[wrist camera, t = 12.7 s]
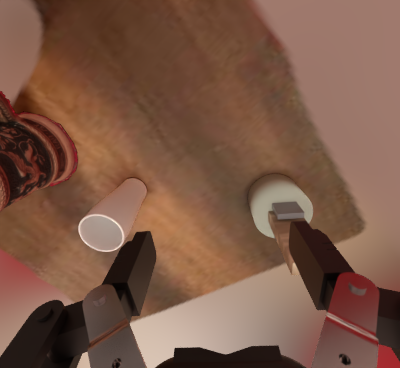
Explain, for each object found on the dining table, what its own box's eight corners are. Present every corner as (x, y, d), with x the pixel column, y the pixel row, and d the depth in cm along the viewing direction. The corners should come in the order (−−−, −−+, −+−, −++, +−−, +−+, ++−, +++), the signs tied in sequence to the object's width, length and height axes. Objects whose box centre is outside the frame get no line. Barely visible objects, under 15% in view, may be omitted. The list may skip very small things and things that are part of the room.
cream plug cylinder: (247, 175, 42) (258, 201, 32) (299, 171, 41) (327, 197, 31) (247, 218, 46) (257, 253, 36) (295, 215, 45) (318, 250, 35)
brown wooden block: (268, 211, 37) (292, 263, 26) (298, 209, 36) (335, 261, 26) (268, 220, 38) (291, 275, 27) (297, 219, 37) (333, 273, 26)
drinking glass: (130, 167, 42) (92, 204, 28) (157, 188, 44) (134, 233, 30) (112, 189, 44) (68, 234, 31) (138, 208, 46) (108, 259, 32)
